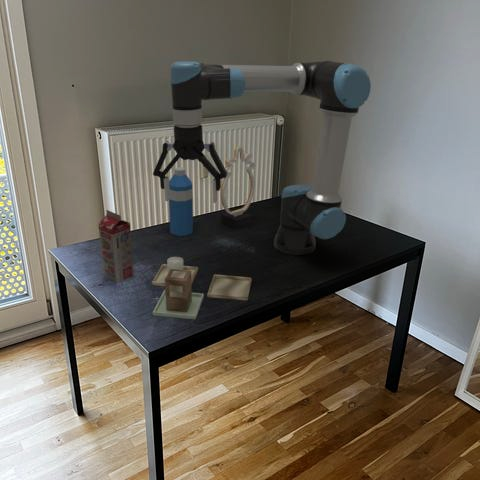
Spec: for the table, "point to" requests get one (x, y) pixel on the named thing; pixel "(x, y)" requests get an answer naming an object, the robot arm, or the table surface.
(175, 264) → the white dome
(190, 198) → the water bottle
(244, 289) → the tray
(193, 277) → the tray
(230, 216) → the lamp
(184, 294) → the letter block
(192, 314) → the tray
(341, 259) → the table surface
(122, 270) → the juice carton
